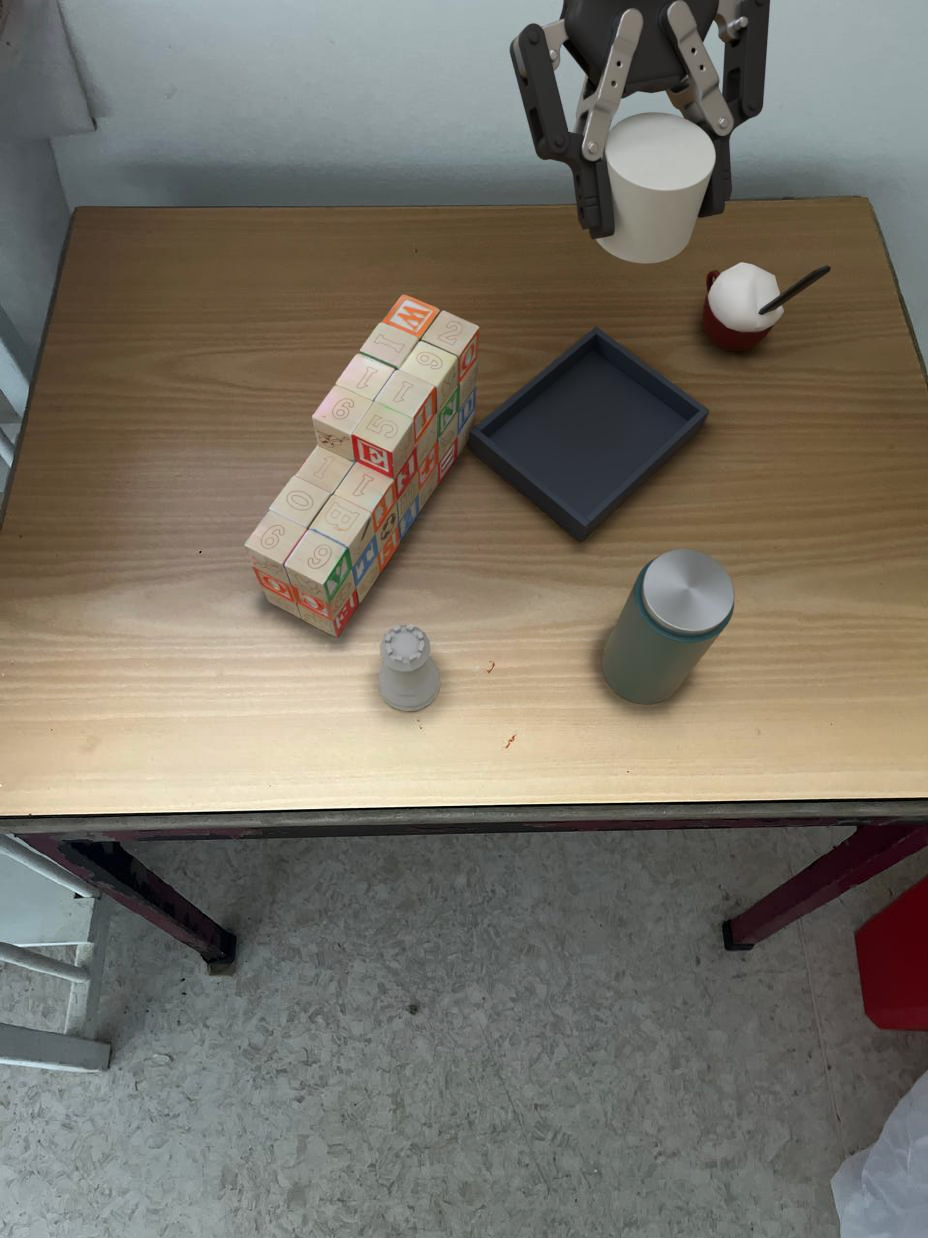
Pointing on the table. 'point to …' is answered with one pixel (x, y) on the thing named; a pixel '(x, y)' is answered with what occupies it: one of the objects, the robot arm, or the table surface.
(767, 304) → the cocoa
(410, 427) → the stack of blocks
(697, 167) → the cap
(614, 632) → the green metal cylinder
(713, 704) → the table surface
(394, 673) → the rook chess piece
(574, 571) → the table surface
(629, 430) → the tray
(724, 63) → the robot arm
